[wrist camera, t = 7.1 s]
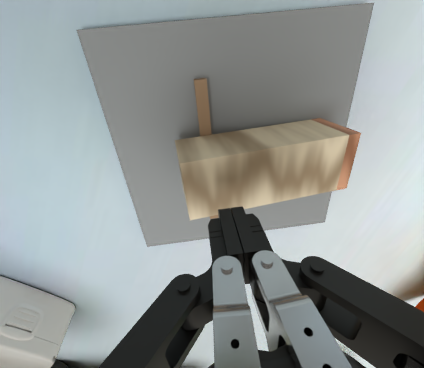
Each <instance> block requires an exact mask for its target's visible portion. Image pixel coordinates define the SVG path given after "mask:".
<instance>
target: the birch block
mask: <svg viewBox="0 0 424 368" xmlns="http://www.w3.org/2000/svg"><path fill="white" fill-rule="evenodd" d="M360 135H361V133H360V132H357V131H354V130H351V129H349V128H346V127H343V126H341V125H338V124H335V123H333V122H330V121H327V120H324V119H322V118H317V119H310V120H304V121H297V122H291V123H284V124H278V125H271V126H264V127H258V128H251V129H245V130H238V131H232V132H225V133H219V134H212V135H206V136H199V137H193V138H186V139H180V140H175V145H176V150H177V156H178V162H179V167H180V173H181V179H182V184H183V190H184V194H185V199H186V204H187V209H188V214H189V218H190V220H195V219H200V218H205V217H209V216H214V215H218V209H225V208H232V207H240V206H243V208H244V209H248V208H253V207H258V206H262V205H267V204H272V203H277V202H282V201H287V200H291V199H296V198H301V197H306V196H311V195H316V194H320V193H325V192H330V191H335V190H340V189H345V188H347V184H348V180H349V177H350V173H351V169H352V165H353V161H354V158H355V154H356V150H357V146H358V142H359V139H360Z"/></svg>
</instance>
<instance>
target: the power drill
mask: <svg viewBox="0 0 424 368" xmlns="http://www.w3.org/2000/svg"><path fill="white" fill-rule="evenodd" d="M74 312H75V306H74V304H72V303H71V302H68V301H66V300H64V299H62V298H59V297H57V296H54V295H52V294H49V293H47V292H44V291H41V290H39V289H36V288H33V287H31V286H28V285H25V284H23V283H20V282H17V281H14V280H11V279H8V278H5V277H2V276H0V368H51V366H52V365H53V364H54V362H55V359H56V357H57V355H58V352H59V350H60V347H61V344H62V342H63V339H64V337H65V334H66V331H67V329H68V326H69V324H70V321H71V319H72V316H73V314H74Z"/></svg>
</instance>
